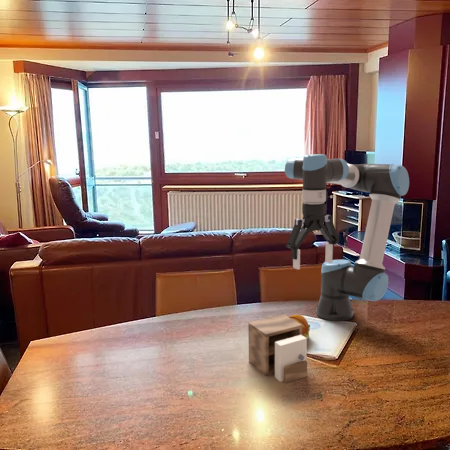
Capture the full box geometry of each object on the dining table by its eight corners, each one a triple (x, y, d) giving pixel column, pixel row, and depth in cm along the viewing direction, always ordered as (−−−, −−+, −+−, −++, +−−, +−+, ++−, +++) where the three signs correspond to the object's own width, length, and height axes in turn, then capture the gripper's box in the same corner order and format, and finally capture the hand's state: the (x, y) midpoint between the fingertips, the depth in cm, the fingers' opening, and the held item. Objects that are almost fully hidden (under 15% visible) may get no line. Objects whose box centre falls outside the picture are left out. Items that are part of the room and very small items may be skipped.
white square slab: (274, 377, 139) (274, 341, 137) (300, 369, 144) (300, 334, 141) (282, 383, 136) (282, 347, 133) (308, 375, 140) (309, 339, 138)
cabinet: (248, 361, 149) (248, 322, 147) (283, 351, 156) (283, 313, 153) (277, 385, 134) (278, 342, 132) (314, 373, 141) (315, 332, 138)
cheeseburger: (308, 330, 171) (310, 309, 167) (310, 349, 162) (312, 327, 158) (282, 330, 172) (282, 308, 168) (282, 348, 163) (283, 326, 158)
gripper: (289, 207, 135) (289, 274, 139) (351, 200, 147) (349, 262, 151) (275, 204, 142) (275, 268, 146) (335, 197, 153) (334, 257, 157)
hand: (312, 265), depth 148 cm, fingers open, 13 cm apart
